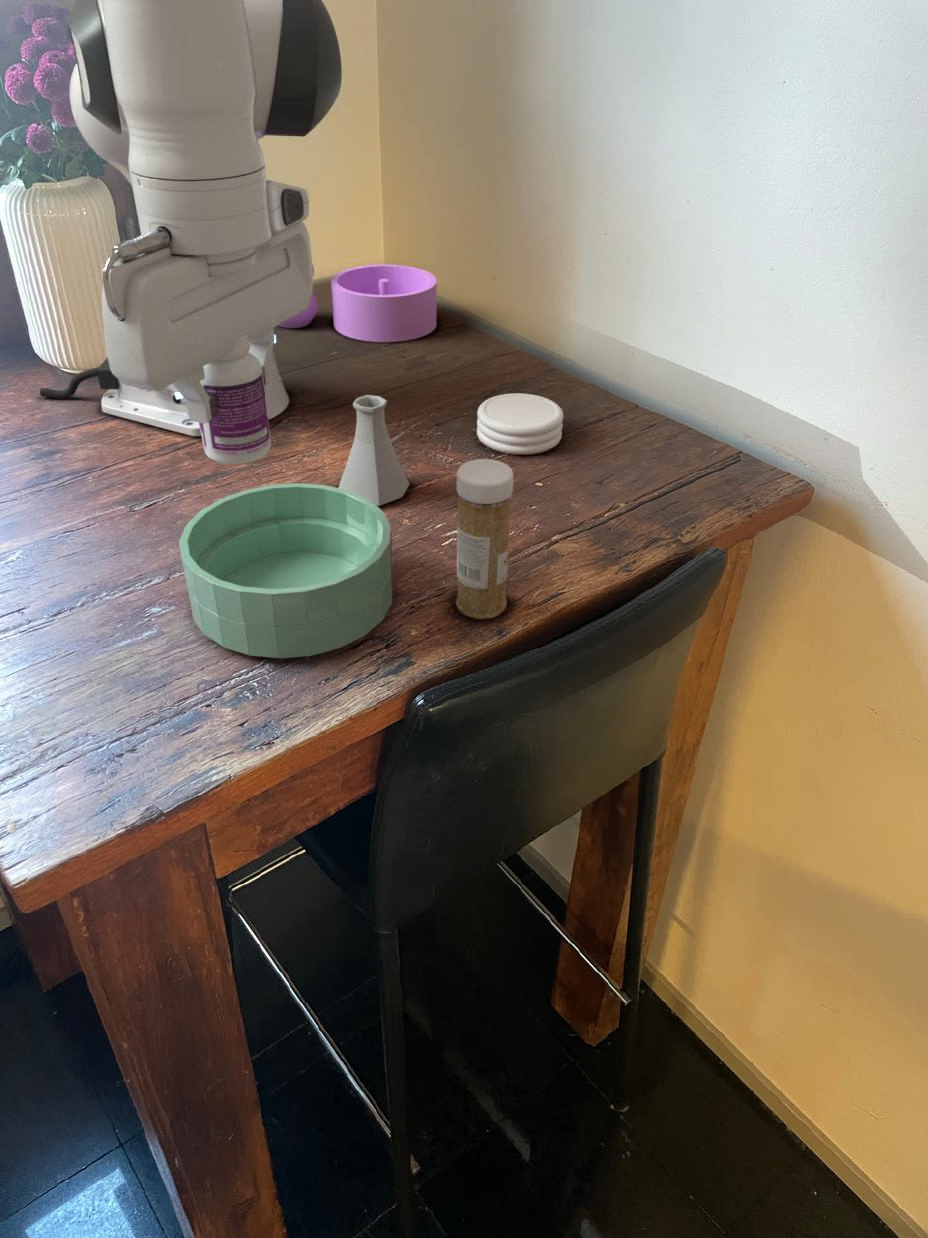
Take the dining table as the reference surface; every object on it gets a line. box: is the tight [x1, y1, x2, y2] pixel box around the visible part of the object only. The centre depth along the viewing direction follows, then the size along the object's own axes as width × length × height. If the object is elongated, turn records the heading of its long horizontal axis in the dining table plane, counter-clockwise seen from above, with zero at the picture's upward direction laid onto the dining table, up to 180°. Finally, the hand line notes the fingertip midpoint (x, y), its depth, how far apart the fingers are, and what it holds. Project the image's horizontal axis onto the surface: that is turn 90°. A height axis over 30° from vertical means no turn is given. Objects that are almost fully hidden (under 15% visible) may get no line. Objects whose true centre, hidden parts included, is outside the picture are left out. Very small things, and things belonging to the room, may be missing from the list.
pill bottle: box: [199, 334, 272, 465], centre depth 72 cm, size 5×5×10 cm
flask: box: [338, 394, 410, 507], centre depth 96 cm, size 7×7×10 cm
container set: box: [278, 263, 437, 343], centre depth 135 cm, size 25×15×13 cm, turn 91°
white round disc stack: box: [476, 392, 564, 456], centre depth 109 cm, size 10×10×4 cm
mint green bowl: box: [178, 482, 394, 659], centre depth 81 cm, size 17×18×7 cm
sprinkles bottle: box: [455, 458, 514, 620], centre depth 79 cm, size 5×5×14 cm
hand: (231, 401), depth 72 cm, fingers closed on pill bottle, 5 cm apart
